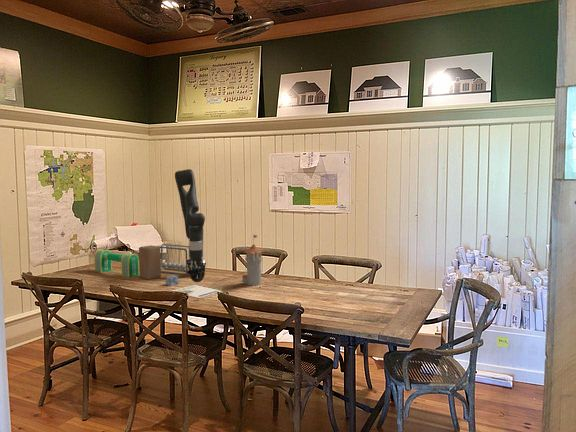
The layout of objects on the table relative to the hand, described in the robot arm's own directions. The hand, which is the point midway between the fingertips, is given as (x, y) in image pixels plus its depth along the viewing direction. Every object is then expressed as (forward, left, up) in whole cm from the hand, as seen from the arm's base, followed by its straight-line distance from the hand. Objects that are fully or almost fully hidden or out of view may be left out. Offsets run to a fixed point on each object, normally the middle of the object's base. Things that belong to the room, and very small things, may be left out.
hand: (196, 278), depth 267 cm
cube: (-2, -24, -8) cm, 25 cm away
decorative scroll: (0, -80, -8) cm, 80 cm away
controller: (0, 0, -2) cm, 3 cm away
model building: (-33, +13, -8) cm, 36 cm away
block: (-6, -51, -8) cm, 52 cm away
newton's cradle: (-26, -53, -8) cm, 59 cm away
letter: (0, 0, -7) cm, 8 cm away
